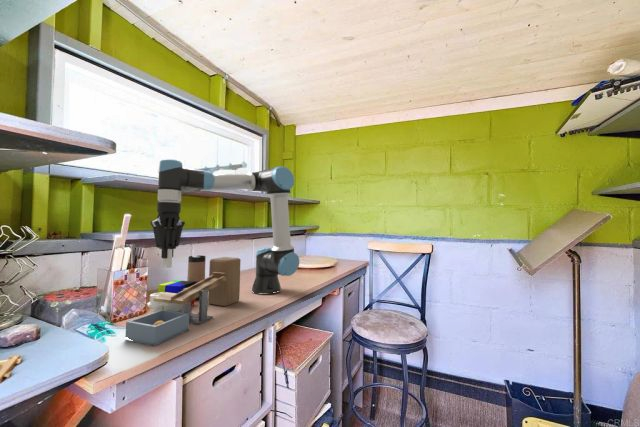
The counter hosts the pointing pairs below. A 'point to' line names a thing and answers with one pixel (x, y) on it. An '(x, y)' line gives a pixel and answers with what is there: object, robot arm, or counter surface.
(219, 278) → the lever
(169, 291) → the puzzle toy
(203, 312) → the stand
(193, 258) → the travel mug
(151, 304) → the pipe fitting
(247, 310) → the counter surface
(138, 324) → the tray
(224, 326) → the counter surface
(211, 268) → the block
